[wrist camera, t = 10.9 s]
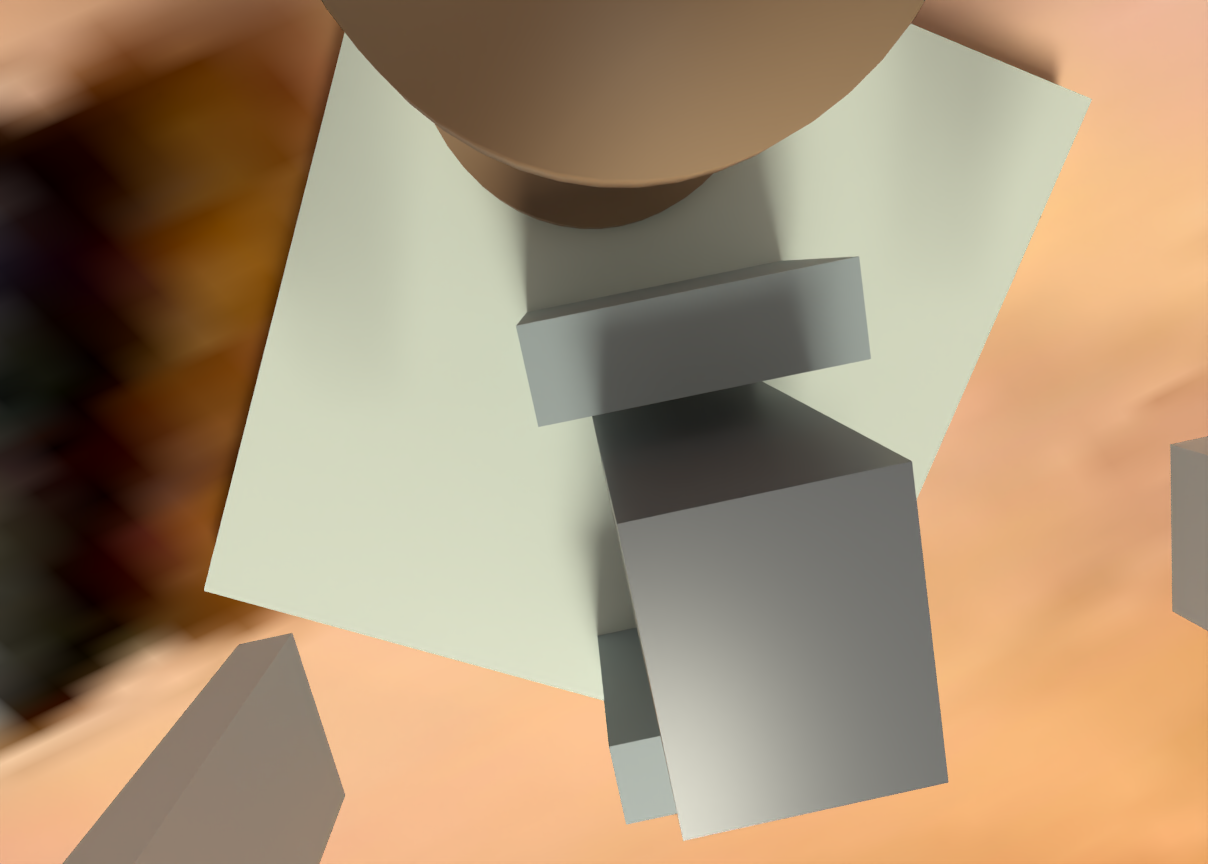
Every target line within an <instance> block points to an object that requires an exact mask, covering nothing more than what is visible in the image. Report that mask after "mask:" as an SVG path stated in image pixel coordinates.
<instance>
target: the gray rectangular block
mask: <svg viewBox="0 0 1208 864" xmlns="http://www.w3.org/2000/svg"><path fill="white" fill-rule="evenodd" d="M592 419H593V424H594V429H595V433H596V438H597V443H598V448H599V452H600V457H601V462H602V467H603V471H604V476H605V481H606V486H607V490H608V495H609V500H610V505H611V509H612V514H613V519H614V524H615V528H616V533H617V538H618V543H619V547H620V552H621V557H622V562H623V566H624V571H625V576H626V581H627V585H628V590H629V595H630V600H631V604H632V609H633V613H634V618H635V623H636V627H637V632H638V636H639V641H640V645H641V650H642V654H643V659H644V664H645V668H646V673H647V677H648V682H649V686H650V691H651V696H652V700H653V705H654V709H655V714H656V718H657V723H658V728H659V732H660V737H661V741H662V746H663V750H664V755H665V760H666V764H667V769H668V773H669V778H670V782H671V787H672V792H673V796H674V801H675V805H676V810H677V814H678V819H679V824H680V828H681V833H682V837H683V841H685V840H689V839H694V838H698V837H703V836H707V835H712V834H716V833H721V832H726V831H730V830H735V829H739V828H744V827H748V826H753V825H757V824H762V823H766V822H771V821H775V820H780V819H785V818H789V817H794V816H798V815H803V814H807V813H812V812H816V811H821V810H825V809H830V808H834V807H839V806H844V805H848V804H853V803H857V802H862V801H866V800H871V799H875V798H880V797H884V796H889V795H893V794H898V793H903V792H907V791H912V790H916V789H921V788H925V787H930V786H934V785H939V784H943V783H948V775H947V766H946V757H945V748H944V739H943V730H942V722H941V713H940V704H939V695H938V686H937V677H936V668H935V660H934V651H933V642H932V633H931V624H930V615H929V607H928V598H927V589H926V580H925V571H924V562H923V553H922V545H921V536H920V527H919V518H918V509H917V500H916V492H915V483H914V474H913V465H912V461H911V460H909V459H907V458H905V457H903V456H901V455H900V454H898V453H896V452H894V451H892V450H890V449H888V448H886V447H885V446H883V445H881V444H879V443H877V442H875V441H873V440H871V439H870V438H868V437H866V436H864V435H862V434H860V433H858V432H856V431H855V430H853V429H851V428H849V427H847V426H845V425H843V424H841V423H839V422H838V421H836V420H834V419H832V418H830V417H828V416H826V415H824V414H823V413H821V412H819V411H817V410H815V409H813V408H811V407H809V406H808V405H806V404H804V403H802V402H800V401H798V400H796V399H794V398H793V397H791V396H789V395H787V394H785V393H783V392H781V391H779V390H778V389H776V388H774V387H772V386H770V385H768V384H766V383H764V382H763V381H761V382H756V383H751V384H746V385H742V386H737V387H732V388H727V389H722V390H717V391H712V392H707V393H702V394H698V395H693V396H688V397H683V398H678V399H673V400H668V401H663V402H659V403H654V404H649V405H644V406H639V407H634V408H629V409H624V410H619V411H615V412H610V413H605V414H600V415H595V416H592Z"/></svg>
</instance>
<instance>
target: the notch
mask: <svg viewBox="0 0 1208 864" xmlns="http://www.w3.org/2000/svg"><path fill="white" fill-rule="evenodd" d="M516 329H517V333H518V338H519V342H520V347H521V351H522V356H523V360H524V365H525V369H526V374H527V378H528V383H529V387H530V392H531V396H532V401H533V405H534V410H535V414H536V419H537V423H538V427H541V426H546V425H551V424H556V423H561V422H566V421H571V420H576V419H580V418H585V417H590V416H595V415H600V414H605V413H610V412H615V411H619V410H624V409H629V408H634V407H639V406H644V405H649V404H654V403H659V402H663V401H668V400H673V399H678V398H683V397H688V396H693V395H698V394H702V393H707V392H712V391H717V390H722V389H727V388H732V387H737V386H742V385H746V384H751V383H756V382H761V381H766V380H771V379H776V378H781V377H786V376H790V375H795V374H800V373H805V372H810V371H815V370H820V369H825V368H829V367H834V366H839V365H844V364H849V363H854V362H859V361H864V360H869V359H871V354H870V345H869V337H868V328H867V320H866V311H865V302H864V294H863V285H862V276H861V268H860V259H859V256H856V257H838V258H820V259H802V260H785V261H778V262H773V263H768V264H763V265H758V266H753V267H748V268H743V269H738V270H733V271H728V272H723V273H718V274H713V275H708V276H703V277H698V278H693V279H688V280H684V281H679V282H674V283H669V284H664V285H659V286H654V287H649V288H644V289H639V290H634V291H629V292H624V293H619V294H614V295H609V296H604V297H599V298H594V299H590V300H585V301H580V302H575V303H570V304H565V305H560V306H555V307H550V308H545V309H540V310H535V311H530V312H527V313H526V314H525V315H524V316H523V318H522V319H521V320H520V321H519V323H518V324H517V325H516ZM597 637H598V647H599V656H600V665H601V675H602V684H603V694H604V703H605V713H606V722H607V732H608V741H609V749H610V753H611V758H612V762H613V767H614V771H615V776H616V780H617V785H618V789H619V794H620V798H621V803H622V807H623V812H624V816H625V821H626V824H631V823H635V822H640V821H645V820H649V819H654V818H659V817H663V816H668V815H673V814H677V810H676V805H675V801H674V796H673V792H672V787H671V782H670V778H669V773H668V769H667V764H666V760H665V755H664V750H663V746H662V741H661V737H660V732H659V728H658V723H657V718H656V714H655V709H654V705H653V700H652V696H651V691H650V686H649V682H648V677H647V673H646V668H645V664H644V659H643V654H642V650H641V645H640V641H639V636H638V632H637V628H632V629H627V630H622V631H617V632H613V633H608V634H603V635H598V636H597Z"/></svg>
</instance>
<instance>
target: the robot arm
mask: <svg viewBox="0 0 1208 864" xmlns="http://www.w3.org/2000/svg"><path fill="white" fill-rule="evenodd" d="M1170 448H1171V528H1172V609H1173V612H1175V613H1177V614H1178V615H1180V616H1182V617H1184V618H1186V619H1188V620H1189V621H1191V622H1193V623H1195V624H1197V625H1198V626H1200V627H1202V628H1204V629H1206V630H1207V631H1208V436H1207V437H1203V438H1198V439H1194V440H1189V441H1184V442H1180V443H1175V444H1170ZM344 797H345V793H344V790H343V787H342V784H341V781H340V778H339V775H338V772H337V769H336V766H335V763H334V760H333V756H332V753H331V750H330V747H329V744H328V741H327V738H326V735H325V732H324V729H323V726H322V723H321V720H320V717H319V714H318V711H317V707H316V704H315V701H314V698H313V695H312V692H311V689H310V686H309V683H308V680H307V677H306V674H305V671H304V668H303V665H302V662H301V658H300V655H299V652H298V649H297V646H296V643H295V640H294V637H293V634H292V633H290V634H286V635H281V636H276V637H272V638H267V639H262V640H258V641H253V642H248V643H244V644H239V645H238V646H237V647H236V649H235V650H234V651H233V652H232V654H231V655H230V656H229V657H228V659H227V660H226V661H225V662H224V664H223V665H222V666H221V667H220V669H219V670H218V671H217V672H216V674H215V675H214V676H213V677H212V678H211V680H210V681H209V682H208V683H207V685H206V686H205V687H204V688H203V690H202V691H201V692H200V693H199V695H198V696H197V697H196V698H195V700H194V701H193V702H192V703H191V705H190V706H189V707H188V708H187V710H186V711H185V712H184V713H183V715H182V716H181V717H180V718H179V720H178V721H177V722H176V723H175V725H174V726H173V727H172V728H171V729H170V731H169V732H168V733H167V734H166V736H165V737H164V738H163V739H162V741H161V742H160V743H159V744H158V746H157V747H156V748H155V749H154V751H153V752H152V753H151V754H150V756H149V757H148V758H147V759H146V761H145V762H144V763H143V764H142V766H141V767H140V768H139V769H138V771H137V772H136V773H135V774H134V776H133V777H132V778H131V779H130V780H129V782H128V783H127V784H126V785H125V787H124V788H123V789H122V790H121V792H120V793H119V794H118V795H117V797H116V798H115V799H114V800H113V802H112V803H111V804H110V805H109V807H108V808H107V809H106V810H105V812H104V813H103V814H102V815H101V817H100V818H99V819H98V820H97V822H96V823H95V824H94V825H93V827H92V828H91V829H90V830H89V831H88V833H87V834H86V835H85V836H84V838H83V839H82V840H81V841H80V843H79V844H78V845H77V846H76V848H75V849H74V850H73V851H72V853H71V854H70V855H69V856H68V858H67V859H66V860H65V861H64V863H63V864H319V863H320V861H321V858H322V855H323V853H324V850H325V847H326V845H327V842H328V839H329V837H330V834H331V831H332V829H333V826H334V823H335V821H336V818H337V815H338V813H339V810H340V807H341V805H342V802H343V800H344Z"/></svg>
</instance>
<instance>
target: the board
mask: <svg viewBox="0 0 1208 864" xmlns="http://www.w3.org/2000/svg"><path fill="white" fill-rule="evenodd" d="M1091 100H1092V99H1090V98H1088V97H1085V96H1083V95H1081V94H1078V93H1076V92H1074V91H1071V90H1069V89H1066V88H1064V87H1062V86H1059V85H1057V84H1054V83H1052V82H1050V81H1047V80H1045V79H1042V78H1040V77H1038V76H1035V75H1033V74H1030V73H1028V72H1026V71H1023V70H1021V69H1018V68H1016V67H1014V66H1011V65H1009V64H1006V63H1004V62H1002V61H999V60H997V59H994V58H992V57H990V56H987V55H985V54H982V53H980V52H978V51H975V50H973V49H971V48H968V47H966V46H963V45H961V44H959V43H956V42H954V41H951V40H949V39H947V38H944V37H942V36H939V35H937V34H935V33H932V32H930V31H927V30H925V29H923V28H920V27H918V26H915V25H913V24H910V25H909V26H908V28H907V29H906V30H905V32H904V33H903V34H902V35H901V37H900V38H899V39H898V41H897V42H896V43H895V44H894V46H893V47H892V48H891V50H890V51H889V52H888V53H887V55H886V56H885V57H884V59H883V60H882V61H881V62H880V63H879V64H878V65H877V66H876V67H875V68H874V69H873V70H872V71H871V72H870V73H869V74H868V75H867V76H866V77H865V78H864V79H863V80H862V81H861V82H860V83H859V84H858V85H857V86H856V87H855V88H854V89H853V90H852V91H851V92H850V93H849V94H848V95H846V96H845V97H844V98H843V99H841V100H840V101H839V102H837V103H836V104H835V105H834V106H832V107H831V108H830V109H829V110H827V111H826V112H825V113H823V114H822V115H821V116H820V117H818V118H817V119H816V120H814V121H813V122H812V123H810V124H808V125H807V126H805V127H803V128H801V129H800V130H798V131H796V132H795V133H793V134H791V135H790V136H788V137H786V138H785V139H783V140H781V141H780V142H778V143H776V144H775V145H773V146H771V147H769V148H768V149H766V150H764V151H763V152H761V153H759V154H758V155H756V156H754V157H752V158H749V159H747V160H745V161H742V162H740V163H738V164H735V165H733V166H731V167H728V168H726V169H723V170H721V171H719V172H716V173H713V174H712V175H711V176H710V177H709V178H708V179H707V180H706V181H705V182H704V183H703V184H702V185H701V186H700V187H698V188H697V189H696V190H694V191H693V192H692V193H691V194H689V195H688V196H687V197H686V198H684V199H682V200H681V201H679V202H677V203H676V204H674V205H672V206H671V207H669V208H667V209H666V210H664V211H662V212H661V213H658V214H656V215H653V216H651V217H649V218H646V219H644V220H642V221H638V222H635V223H631V224H627V225H624V226H619V227H611V228H603V229H578V228H571V227H564V226H558V225H554V224H551V223H547V222H544V221H540V220H537V219H535V218H533V217H530V216H528V215H526V214H523V213H521V212H519V211H517V210H515V209H514V208H512V207H510V206H509V205H507V204H505V203H504V202H502V201H500V200H499V199H498V198H496V197H495V196H494V195H493V194H491V193H490V192H489V191H488V190H486V189H485V188H484V187H483V186H482V185H481V184H480V183H479V182H478V181H477V180H476V179H475V178H474V177H473V176H472V175H471V174H470V173H469V172H468V171H467V170H466V169H465V168H464V167H463V166H462V164H461V163H460V162H459V161H458V159H457V158H456V157H455V155H454V154H453V153H452V151H451V150H450V149H449V147H448V146H447V144H446V143H445V141H444V139H443V138H442V136H441V134H440V132H439V131H438V129H437V127H436V126H435V123H433V122H432V121H431V120H430V119H428V118H427V117H426V116H424V115H423V114H422V113H421V112H419V111H418V110H417V109H416V108H414V107H413V106H412V105H411V104H409V103H408V102H407V101H406V100H405V99H404V98H403V97H402V96H401V95H400V94H399V92H398V91H397V90H396V89H395V88H394V87H393V86H392V85H391V84H390V83H389V82H388V81H387V80H386V79H385V78H384V77H383V76H382V75H381V74H380V73H379V72H378V71H377V70H376V69H375V68H374V67H373V66H372V64H371V63H370V62H369V61H368V60H367V59H366V58H365V57H364V56H363V54H362V53H361V52H360V51H359V50H358V49H357V47H356V46H355V45H354V44H353V42H352V41H351V40H350V38H349V37H348V36H347V35H346V33H344V37H343V41H342V45H341V49H340V53H339V57H338V61H337V65H336V69H335V73H334V77H333V80H332V84H331V88H330V92H329V96H328V100H327V104H326V108H325V112H324V116H323V120H322V124H321V128H320V132H319V136H318V140H317V144H316V148H315V152H314V156H313V160H312V164H311V168H310V172H309V176H308V180H307V184H306V187H305V191H304V195H303V199H302V203H301V207H300V211H299V215H298V219H297V223H296V227H295V231H294V235H293V239H292V243H291V247H290V251H289V255H288V259H287V263H286V267H285V271H284V275H283V279H282V283H281V287H280V291H279V295H278V298H277V302H276V306H275V310H274V314H273V318H272V322H271V326H270V330H269V334H268V338H267V342H266V346H265V350H264V354H263V358H262V362H261V366H260V370H259V374H258V378H257V382H256V386H255V390H254V394H253V398H252V402H251V406H250V409H249V413H248V417H247V421H246V425H245V429H244V433H243V437H242V441H241V445H240V449H239V453H238V457H237V461H236V465H235V469H234V473H233V477H232V481H231V485H230V489H229V493H228V497H227V501H226V505H225V509H224V513H223V517H222V520H221V524H220V528H219V532H218V536H217V540H216V544H215V548H214V552H213V556H212V560H211V564H210V568H209V572H208V576H207V580H206V584H205V588H204V591H207V592H210V593H214V594H218V595H221V596H225V597H229V598H232V599H236V600H239V601H243V602H247V603H250V604H254V605H258V606H261V607H265V608H269V609H272V610H276V611H280V612H283V613H287V614H290V615H294V616H298V617H301V618H305V619H309V620H312V621H316V622H320V623H323V624H327V625H331V626H334V627H338V628H341V629H345V630H349V631H352V632H356V633H360V634H363V635H367V636H371V637H374V638H378V639H382V640H385V641H389V642H392V643H396V644H400V645H403V646H407V647H411V648H414V649H418V650H422V651H425V652H429V653H433V654H436V655H440V656H443V657H447V658H451V659H454V660H458V661H462V662H465V663H469V664H473V665H476V666H480V667H484V668H487V669H491V670H494V671H498V672H502V673H505V674H509V675H513V676H516V677H520V678H524V679H527V680H531V681H535V682H538V683H542V684H545V685H549V686H553V687H556V688H560V689H564V690H567V691H571V692H575V693H578V694H582V695H586V696H589V697H593V698H597V699H600V700H604V694H603V684H602V675H601V665H600V656H599V647H598V637H597V636H598V635H603V634H608V633H613V632H617V631H622V630H627V629H632V628H637V627H636V623H635V618H634V613H633V609H632V604H631V600H630V595H629V590H628V585H627V581H626V576H625V571H624V566H623V562H622V557H621V552H620V547H619V543H618V538H617V533H616V528H615V524H614V519H613V514H612V509H611V505H610V500H609V495H608V490H607V486H606V481H605V476H604V471H603V467H602V462H601V457H600V452H599V448H598V443H597V438H596V433H595V429H594V424H593V419H592V416H590V417H585V418H580V419H576V420H571V421H566V422H561V423H556V424H551V425H546V426H541V427H538V423H537V419H536V414H535V410H534V405H533V401H532V396H531V392H530V387H529V383H528V378H527V374H526V369H525V365H524V360H523V356H522V351H521V347H520V342H519V338H518V333H517V329H516V325H517V324H518V323H519V321H520V320H521V319H522V318H523V316H524V315H525V314H526V313H527V312H530V311H535V310H540V309H545V308H550V307H555V306H560V305H565V304H570V303H575V302H580V301H585V300H590V299H594V298H599V297H604V296H609V295H614V294H619V293H624V292H629V291H634V290H639V289H644V288H649V287H654V286H659V285H664V284H669V283H674V282H679V281H684V280H688V279H693V278H698V277H703V276H708V275H713V274H718V273H723V272H728V271H733V270H738V269H743V268H748V267H753V266H758V265H763V264H768V263H773V262H778V261H785V260H802V259H820V258H838V257H856V256H859V259H860V268H861V276H862V285H863V294H864V302H865V311H866V320H867V328H868V337H869V345H870V354H871V359H869V360H864V361H859V362H854V363H849V364H844V365H839V366H834V367H829V368H825V369H820V370H815V371H810V372H805V373H800V374H795V375H790V376H786V377H781V378H776V379H771V380H766V381H763V382H764V383H766V384H768V385H770V386H772V387H774V388H776V389H778V390H779V391H781V392H783V393H785V394H787V395H789V396H791V397H793V398H794V399H796V400H798V401H800V402H802V403H804V404H806V405H808V406H809V407H811V408H813V409H815V410H817V411H819V412H821V413H823V414H824V415H826V416H828V417H830V418H832V419H834V420H836V421H838V422H839V423H841V424H843V425H845V426H847V427H849V428H851V429H853V430H855V431H856V432H858V433H860V434H862V435H864V436H866V437H868V438H870V439H871V440H873V441H875V442H877V443H879V444H881V445H883V446H885V447H886V448H888V449H890V450H892V451H894V452H896V453H898V454H900V455H901V456H903V457H905V458H907V459H909V460H911V461H912V465H913V474H914V483H915V492H916V500H917V497H918V495H919V493H920V491H921V488H922V486H923V484H924V481H925V479H926V477H927V475H928V472H929V470H930V468H931V465H932V463H933V461H934V459H935V456H936V454H937V452H938V449H939V447H940V445H941V443H942V440H943V438H944V436H945V434H946V431H947V429H948V427H949V424H950V422H951V420H952V418H953V415H954V413H955V411H956V408H957V406H958V404H959V402H960V399H961V397H962V395H963V392H964V390H965V388H966V386H967V383H968V381H969V379H970V376H971V374H972V372H973V370H974V367H975V365H976V363H977V360H978V358H979V356H980V354H981V351H982V349H983V347H984V344H985V342H986V340H987V338H988V335H989V333H990V331H991V329H992V326H993V324H994V322H995V319H996V317H997V315H998V313H999V310H1000V308H1001V306H1002V303H1003V301H1004V299H1005V297H1006V294H1007V292H1008V290H1009V287H1010V285H1011V283H1012V281H1013V278H1014V276H1015V274H1016V271H1017V269H1018V267H1019V265H1020V262H1021V260H1022V258H1023V255H1024V253H1025V251H1026V249H1027V246H1028V244H1029V242H1030V239H1031V237H1032V235H1033V233H1034V230H1035V228H1036V226H1037V224H1038V221H1039V219H1040V217H1041V214H1042V212H1043V210H1044V208H1045V205H1046V203H1047V201H1048V198H1049V196H1050V194H1051V192H1052V189H1053V187H1054V185H1055V182H1056V180H1057V178H1058V176H1059V173H1060V171H1061V169H1062V166H1063V164H1064V162H1065V160H1066V157H1067V155H1068V153H1069V150H1070V148H1071V146H1072V144H1073V141H1074V139H1075V137H1076V135H1077V132H1078V130H1079V128H1080V125H1081V123H1082V121H1083V119H1084V116H1085V114H1086V112H1087V109H1088V107H1089V105H1090V103H1091Z"/></svg>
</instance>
